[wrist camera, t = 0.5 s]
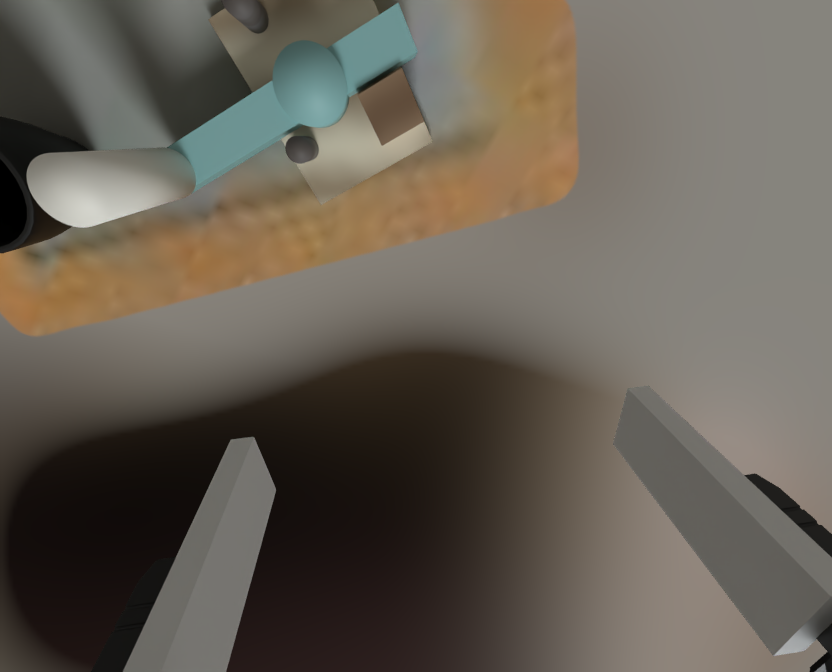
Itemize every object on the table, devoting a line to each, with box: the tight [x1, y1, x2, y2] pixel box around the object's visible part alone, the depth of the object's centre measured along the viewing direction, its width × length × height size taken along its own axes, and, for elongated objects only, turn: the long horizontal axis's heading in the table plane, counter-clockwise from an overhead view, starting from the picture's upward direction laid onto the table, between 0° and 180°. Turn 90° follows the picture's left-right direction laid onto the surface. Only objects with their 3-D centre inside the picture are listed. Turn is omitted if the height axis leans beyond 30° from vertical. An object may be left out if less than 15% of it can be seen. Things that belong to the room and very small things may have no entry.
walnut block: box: [357, 68, 424, 146], centre depth 27 cm, size 4×4×4 cm
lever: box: [27, 3, 418, 228], centre depth 22 cm, size 5×21×13 cm, turn 117°
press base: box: [208, 0, 433, 205], centre depth 27 cm, size 14×11×5 cm
